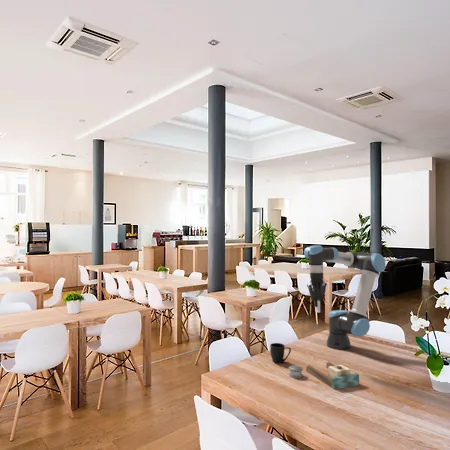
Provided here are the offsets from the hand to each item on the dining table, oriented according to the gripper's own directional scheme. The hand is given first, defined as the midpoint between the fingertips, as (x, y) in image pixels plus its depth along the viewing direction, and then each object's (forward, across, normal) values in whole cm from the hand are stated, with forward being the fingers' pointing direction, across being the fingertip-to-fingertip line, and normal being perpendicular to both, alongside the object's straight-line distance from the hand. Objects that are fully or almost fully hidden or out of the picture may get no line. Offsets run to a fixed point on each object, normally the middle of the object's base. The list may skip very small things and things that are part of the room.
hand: (317, 312), depth 214 cm
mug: (+28, +22, -7) cm, 37 cm away
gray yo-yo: (+28, +25, +13) cm, 40 cm away
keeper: (+28, +10, +29) cm, 41 cm away
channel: (+28, +9, +22) cm, 37 cm away
